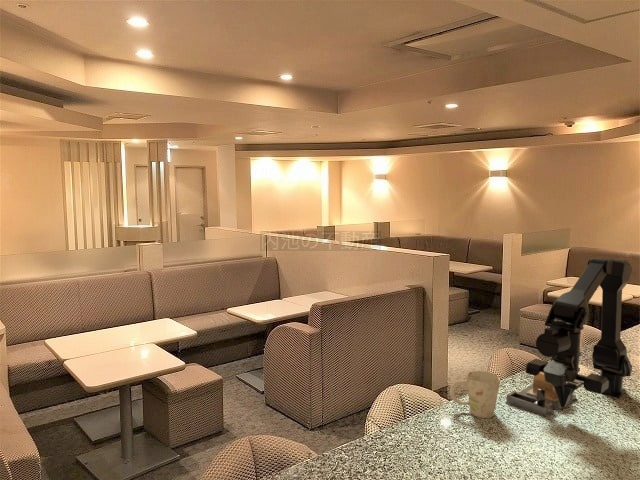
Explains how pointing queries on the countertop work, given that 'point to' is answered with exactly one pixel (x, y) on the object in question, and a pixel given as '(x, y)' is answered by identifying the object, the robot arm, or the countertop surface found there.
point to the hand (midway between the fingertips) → (563, 406)
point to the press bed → (555, 400)
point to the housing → (543, 385)
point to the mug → (479, 393)
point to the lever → (540, 397)
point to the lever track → (528, 403)
